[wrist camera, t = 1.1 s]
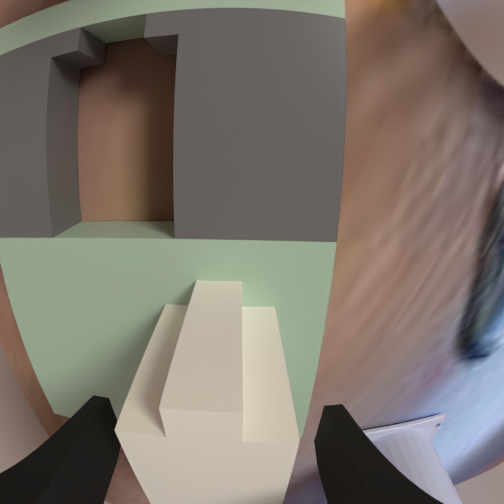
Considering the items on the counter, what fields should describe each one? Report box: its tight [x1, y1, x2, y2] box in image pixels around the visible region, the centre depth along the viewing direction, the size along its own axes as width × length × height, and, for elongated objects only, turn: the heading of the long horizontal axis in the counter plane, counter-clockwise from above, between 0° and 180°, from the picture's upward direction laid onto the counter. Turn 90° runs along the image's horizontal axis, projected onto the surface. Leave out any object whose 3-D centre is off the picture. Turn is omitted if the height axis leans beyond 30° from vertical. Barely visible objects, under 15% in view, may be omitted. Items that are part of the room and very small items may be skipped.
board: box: [0, 0, 346, 438], centre depth 12 cm, size 20×14×2 cm
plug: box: [115, 280, 300, 504], centre depth 10 cm, size 11×4×6 cm, turn 178°
